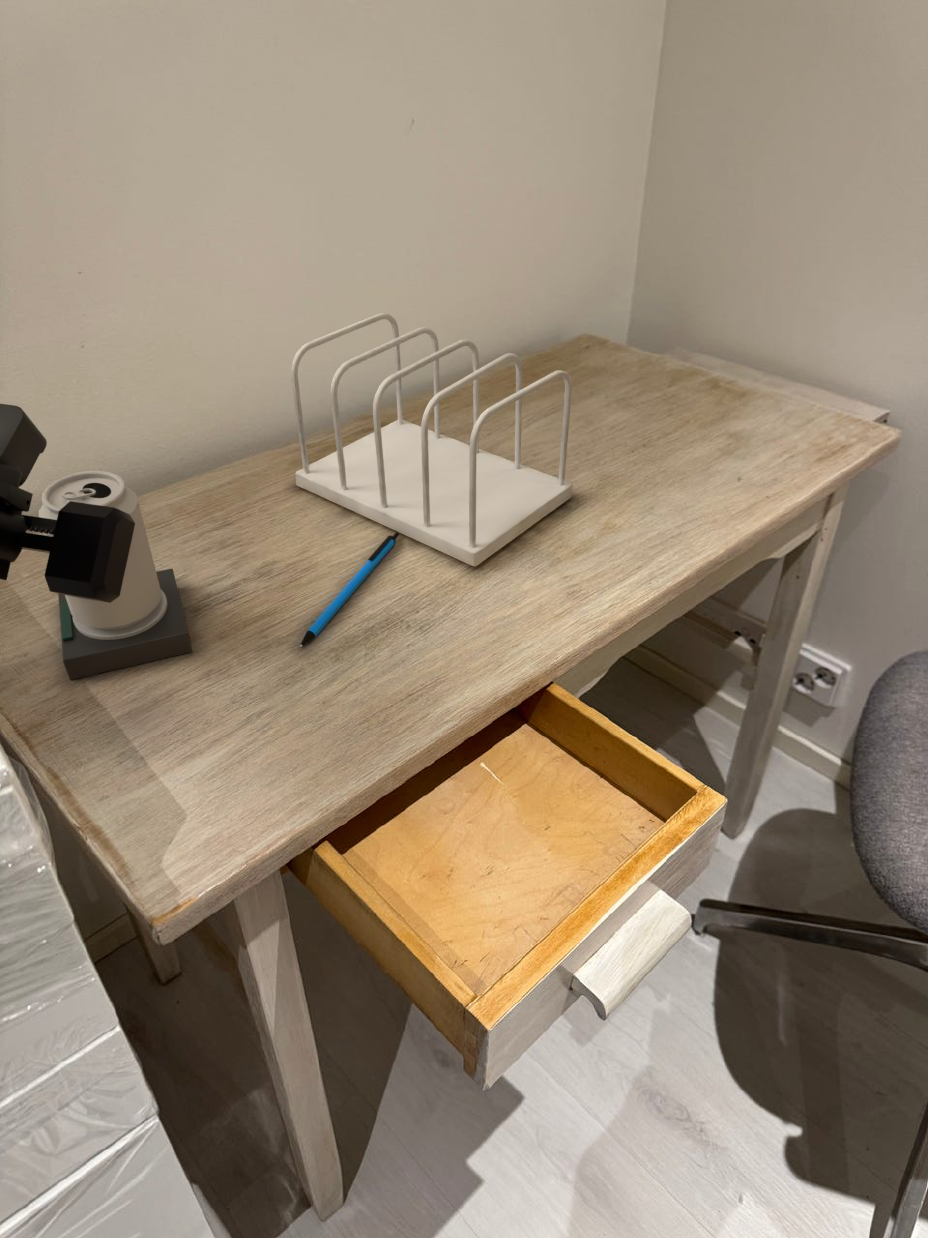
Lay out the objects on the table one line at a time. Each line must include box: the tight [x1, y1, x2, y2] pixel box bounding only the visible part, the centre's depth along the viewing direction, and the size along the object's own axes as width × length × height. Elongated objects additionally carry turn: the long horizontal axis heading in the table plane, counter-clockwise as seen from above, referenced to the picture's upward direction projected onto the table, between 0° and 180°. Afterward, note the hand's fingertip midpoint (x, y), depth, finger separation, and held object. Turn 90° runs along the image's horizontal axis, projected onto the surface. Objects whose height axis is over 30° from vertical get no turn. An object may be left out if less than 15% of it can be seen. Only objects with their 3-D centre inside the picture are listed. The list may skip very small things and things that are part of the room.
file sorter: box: [290, 312, 573, 567], centre depth 93 cm, size 25×17×16 cm
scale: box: [57, 568, 193, 681], centre depth 78 cm, size 10×10×3 cm
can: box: [38, 470, 162, 630], centre depth 73 cm, size 8×8×12 cm
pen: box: [299, 531, 400, 648], centre depth 84 cm, size 1×19×1 cm, turn 157°
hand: (68, 560), depth 69 cm, fingers open, 9 cm apart
